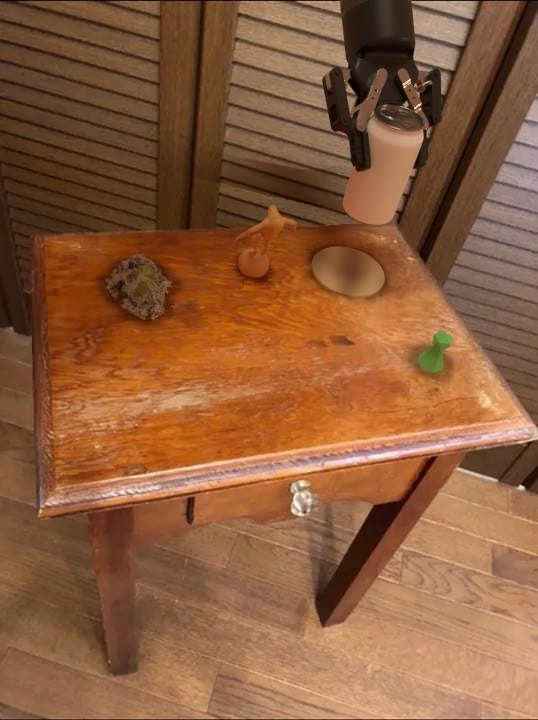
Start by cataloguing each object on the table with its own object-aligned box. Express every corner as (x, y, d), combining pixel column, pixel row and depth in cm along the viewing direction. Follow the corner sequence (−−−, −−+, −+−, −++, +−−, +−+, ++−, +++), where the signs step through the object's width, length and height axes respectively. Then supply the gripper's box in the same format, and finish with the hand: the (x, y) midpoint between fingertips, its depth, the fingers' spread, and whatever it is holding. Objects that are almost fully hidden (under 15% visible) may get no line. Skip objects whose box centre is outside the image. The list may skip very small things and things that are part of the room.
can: (363, 190, 75) (394, 97, 66) (403, 216, 72) (440, 123, 63) (330, 205, 71) (358, 109, 62) (371, 234, 68) (406, 138, 60)
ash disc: (307, 296, 76) (310, 287, 75) (310, 249, 82) (313, 240, 81) (383, 310, 76) (386, 301, 75) (379, 262, 83) (383, 253, 82)
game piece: (413, 381, 69) (432, 346, 65) (406, 353, 72) (423, 319, 67) (447, 383, 70) (469, 349, 65) (439, 356, 72) (459, 322, 68)
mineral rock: (93, 256, 71) (157, 237, 71) (105, 281, 74) (166, 262, 75) (109, 322, 65) (179, 299, 66) (121, 345, 68) (187, 323, 69)
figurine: (272, 260, 79) (289, 182, 71) (293, 289, 76) (313, 211, 67) (216, 271, 76) (226, 191, 67) (235, 302, 73) (248, 222, 64)
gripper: (333, -11, 58) (351, 163, 60) (453, -3, 62) (466, 158, 64) (301, 24, 65) (319, 179, 67) (412, 29, 69) (425, 173, 71)
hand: (391, 168), depth 65 cm, fingers closed on can, 6 cm apart
